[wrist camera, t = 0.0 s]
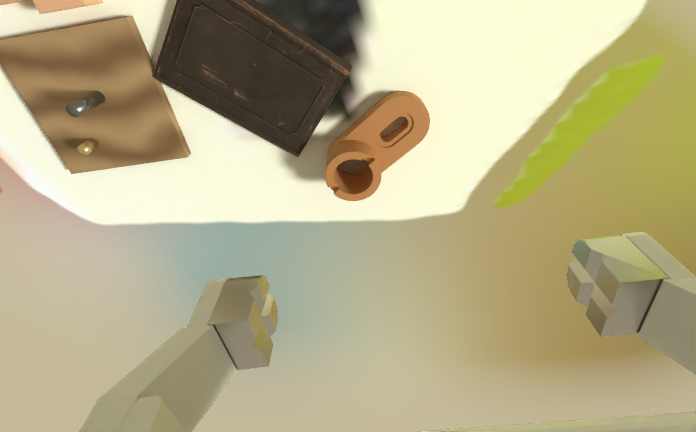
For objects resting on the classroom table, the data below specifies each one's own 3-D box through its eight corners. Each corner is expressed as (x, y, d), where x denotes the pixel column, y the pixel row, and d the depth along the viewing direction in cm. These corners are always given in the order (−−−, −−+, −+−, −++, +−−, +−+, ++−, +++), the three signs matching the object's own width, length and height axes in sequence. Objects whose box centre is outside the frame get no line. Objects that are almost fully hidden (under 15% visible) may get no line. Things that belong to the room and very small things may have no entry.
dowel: (85, 139, 57) (73, 146, 55) (95, 137, 57) (83, 145, 55) (91, 148, 58) (79, 156, 56) (100, 147, 58) (89, 155, 55)
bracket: (351, 187, 64) (351, 210, 58) (317, 155, 61) (313, 175, 55) (437, 119, 57) (447, 136, 51) (404, 78, 54) (410, 92, 48)
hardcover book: (299, 151, 61) (297, 157, 59) (159, 73, 54) (152, 77, 52) (352, 64, 53) (352, 68, 51) (196, -41, 46) (190, -41, 44)
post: (89, 91, 53) (62, 105, 48) (101, 89, 53) (75, 103, 48) (96, 104, 54) (70, 118, 49) (107, 102, 54) (83, 116, 49)
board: (-5, 40, 51) (-14, 42, 49) (132, 15, 49) (126, 17, 48) (77, 169, 62) (71, 173, 61) (190, 153, 60) (187, 157, 59)
